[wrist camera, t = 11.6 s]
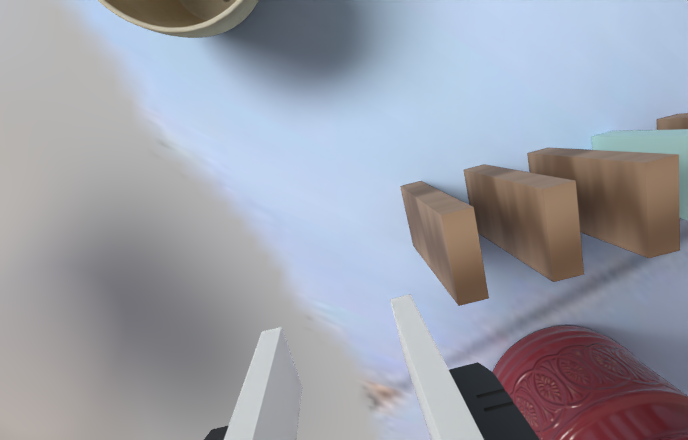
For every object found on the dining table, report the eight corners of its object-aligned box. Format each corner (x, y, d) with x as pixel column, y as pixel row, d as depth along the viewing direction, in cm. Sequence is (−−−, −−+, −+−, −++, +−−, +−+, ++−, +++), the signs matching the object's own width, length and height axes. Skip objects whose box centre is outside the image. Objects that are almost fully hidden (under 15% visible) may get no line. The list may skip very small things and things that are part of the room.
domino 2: (463, 169, 26) (543, 189, 16) (483, 164, 26) (575, 180, 16) (473, 230, 27) (553, 281, 18) (493, 225, 27) (584, 274, 17)
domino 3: (527, 153, 26) (645, 162, 16) (548, 147, 26) (678, 154, 16) (534, 214, 27) (649, 258, 17) (554, 209, 27) (679, 250, 17)
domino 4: (591, 136, 26) (748, 135, 16) (611, 130, 26) (782, 127, 16) (595, 199, 27) (744, 233, 17) (615, 193, 27) (776, 225, 17)
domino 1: (400, 186, 26) (441, 215, 16) (420, 181, 26) (473, 206, 16) (413, 245, 27) (458, 305, 18) (432, 240, 27) (488, 298, 18)
